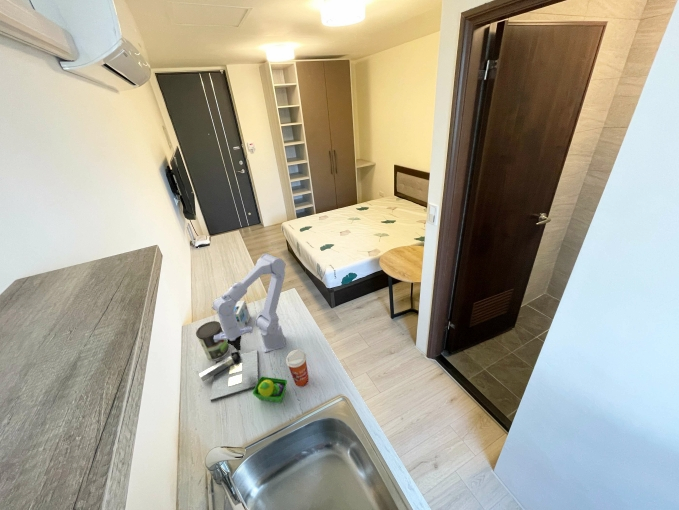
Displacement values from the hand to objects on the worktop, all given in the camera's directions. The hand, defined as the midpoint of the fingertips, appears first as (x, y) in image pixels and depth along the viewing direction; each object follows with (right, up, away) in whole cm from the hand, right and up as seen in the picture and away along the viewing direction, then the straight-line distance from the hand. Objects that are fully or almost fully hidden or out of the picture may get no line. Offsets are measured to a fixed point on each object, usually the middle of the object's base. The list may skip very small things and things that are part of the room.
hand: (238, 348), depth 113 cm
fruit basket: (+16, -15, -9) cm, 24 cm away
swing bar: (-9, -10, +3) cm, 13 cm away
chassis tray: (-2, -11, +2) cm, 12 cm away
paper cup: (+27, -11, -4) cm, 29 cm away
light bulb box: (-10, +3, +30) cm, 31 cm away
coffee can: (-15, -6, +14) cm, 21 cm away
